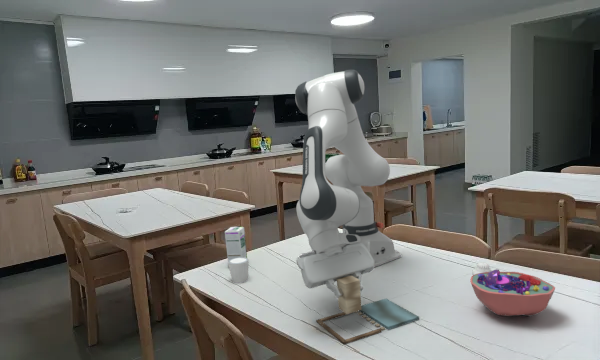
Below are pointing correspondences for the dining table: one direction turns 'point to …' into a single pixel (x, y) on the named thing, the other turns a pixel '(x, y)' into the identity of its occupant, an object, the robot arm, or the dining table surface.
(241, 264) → the white cylinder
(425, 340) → the dining table surface
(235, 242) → the syrup box
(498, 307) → the cell model
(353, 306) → the birch stub block
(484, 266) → the muffin
